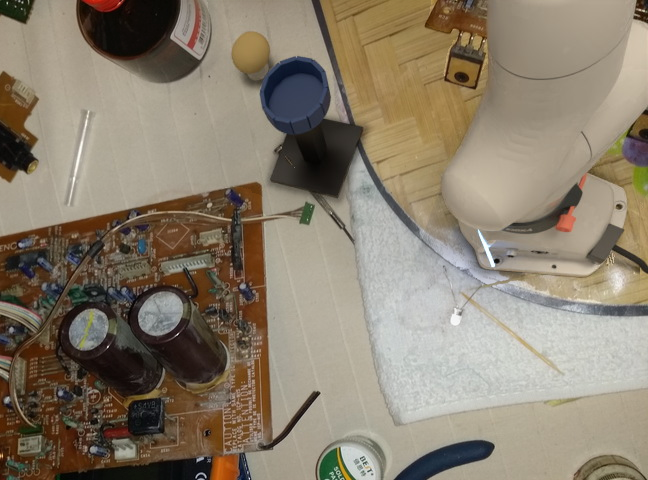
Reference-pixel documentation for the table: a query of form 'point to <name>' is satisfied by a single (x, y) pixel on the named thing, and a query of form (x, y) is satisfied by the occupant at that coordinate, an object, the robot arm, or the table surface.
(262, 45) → the light bulb
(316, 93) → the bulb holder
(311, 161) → the stand
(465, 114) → the table surface
